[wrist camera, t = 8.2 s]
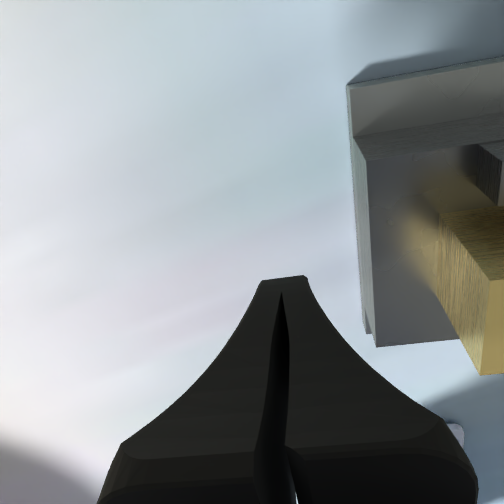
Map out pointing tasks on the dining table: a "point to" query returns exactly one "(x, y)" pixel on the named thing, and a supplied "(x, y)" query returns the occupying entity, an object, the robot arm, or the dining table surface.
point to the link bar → (474, 282)
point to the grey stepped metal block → (419, 185)
